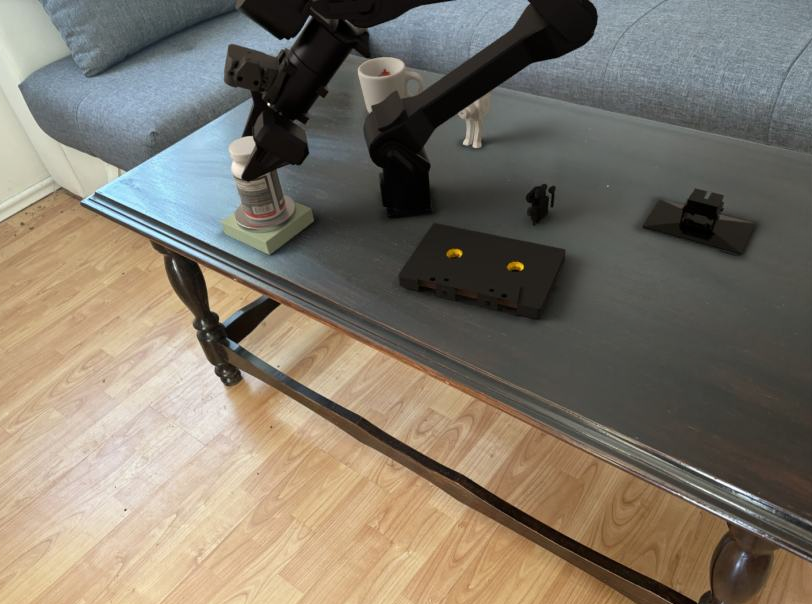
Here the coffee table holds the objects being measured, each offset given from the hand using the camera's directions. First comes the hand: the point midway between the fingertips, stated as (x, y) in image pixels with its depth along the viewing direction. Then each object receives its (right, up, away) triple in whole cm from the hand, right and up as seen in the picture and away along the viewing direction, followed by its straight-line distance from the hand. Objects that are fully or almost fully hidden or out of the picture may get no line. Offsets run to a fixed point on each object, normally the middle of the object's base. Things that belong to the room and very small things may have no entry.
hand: (243, 161), depth 85 cm
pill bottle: (+2, -5, +6) cm, 8 cm away
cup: (+19, +16, +29) cm, 38 cm away
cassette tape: (+31, -15, -3) cm, 34 cm away
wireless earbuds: (+39, -7, +5) cm, 40 cm away
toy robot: (+32, +9, +20) cm, 39 cm away
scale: (+2, -7, +8) cm, 11 cm away
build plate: (+59, -9, +1) cm, 60 cm away
